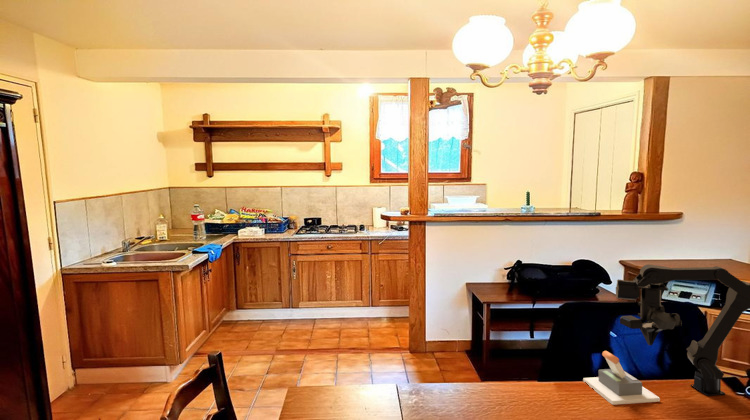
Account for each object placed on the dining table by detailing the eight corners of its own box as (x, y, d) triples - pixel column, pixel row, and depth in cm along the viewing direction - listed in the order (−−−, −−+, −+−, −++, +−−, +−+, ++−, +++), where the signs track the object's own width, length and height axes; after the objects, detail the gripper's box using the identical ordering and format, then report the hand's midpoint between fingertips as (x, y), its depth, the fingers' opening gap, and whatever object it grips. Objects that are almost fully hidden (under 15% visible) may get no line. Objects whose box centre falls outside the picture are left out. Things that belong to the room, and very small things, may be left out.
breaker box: (625, 378, 138) (625, 363, 138) (659, 401, 123) (660, 385, 123) (583, 381, 137) (583, 366, 136) (612, 404, 122) (612, 388, 121)
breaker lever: (616, 368, 132) (606, 349, 131) (627, 376, 127) (617, 356, 126) (611, 372, 132) (601, 352, 131) (622, 379, 127) (611, 359, 126)
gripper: (643, 309, 126) (642, 356, 126) (696, 307, 127) (695, 353, 128) (619, 300, 137) (618, 342, 138) (668, 297, 138) (667, 340, 139)
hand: (649, 344), depth 135 cm, fingers closed
